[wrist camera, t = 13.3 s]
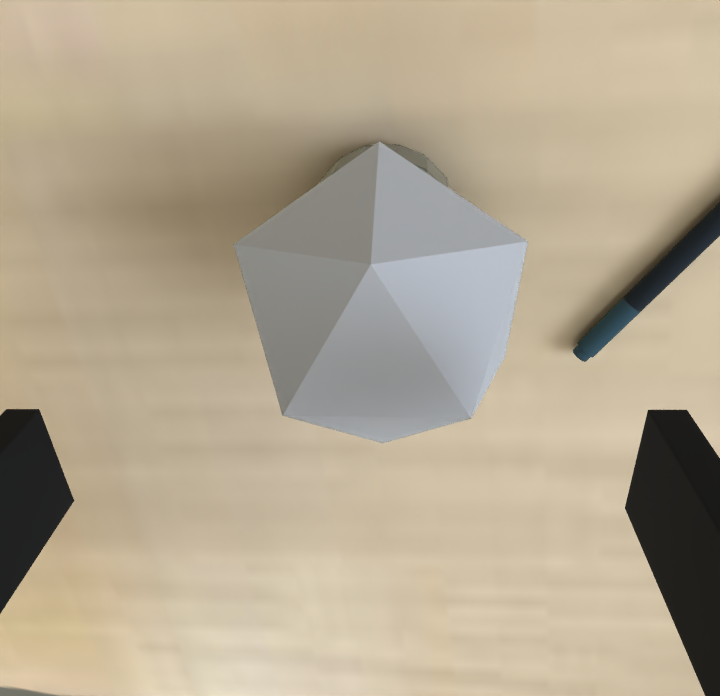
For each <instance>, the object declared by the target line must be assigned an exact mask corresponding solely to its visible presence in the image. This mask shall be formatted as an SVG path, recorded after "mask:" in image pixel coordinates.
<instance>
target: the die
mask: <svg viewBox="0 0 720 696" xmlns="http://www.w3.org/2000/svg"><path fill="white" fill-rule="evenodd" d="M527 243H528V241H526V240H525V239H524V238H522V237H521V236H519V235H518V234H516V233H515V232H513V231H512V230H510V229H509V228H507V227H506V226H504V225H503V224H501V223H500V222H498V221H497V220H495V219H494V218H492V217H491V216H489V215H488V214H486V213H485V212H483V211H482V210H480V209H479V208H477V207H476V206H474V205H473V204H471V203H470V202H469V201H467V200H466V199H464V198H463V197H461V196H460V195H458V194H457V193H455V192H454V191H452V190H451V189H449V188H448V187H446V186H445V185H443V184H442V183H440V182H439V181H437V180H436V179H434V178H433V177H431V176H430V175H428V174H427V173H425V172H424V171H422V170H421V169H419V168H418V167H416V166H415V165H414V164H412V163H411V162H409V161H408V160H406V159H405V158H403V157H402V156H400V155H399V154H397V153H396V152H394V151H393V150H391V149H390V148H388V147H387V146H385V145H384V144H382V143H381V142H377V143H376V144H374V145H373V146H372V147H370V148H369V149H367V150H366V151H365V152H363V153H362V154H360V155H359V156H358V157H356V158H355V159H353V160H352V161H350V162H349V163H348V164H346V165H345V166H343V167H342V168H341V169H339V170H338V171H336V172H335V173H333V174H332V175H331V176H329V177H328V178H326V179H325V180H324V181H322V182H321V183H319V184H318V185H317V186H315V187H314V188H312V189H311V190H309V191H308V192H307V193H305V194H304V195H302V196H301V197H300V198H298V199H297V200H295V201H294V202H293V203H291V204H290V205H288V206H287V207H285V208H284V209H283V210H281V211H280V212H278V213H277V214H276V215H274V216H273V217H271V218H270V219H269V220H267V221H266V222H264V223H263V224H261V225H260V226H259V227H257V228H256V229H254V230H253V231H252V232H250V233H249V234H247V235H246V236H245V237H243V238H242V239H240V240H239V241H237V242H236V243H235V244H234V247H235V251H236V254H237V258H238V261H239V265H240V268H241V272H242V275H243V279H244V282H245V286H246V289H247V293H248V296H249V300H250V303H251V307H252V310H253V314H254V317H255V321H256V324H257V328H258V331H259V335H260V338H261V342H262V345H263V349H264V352H265V356H266V359H267V363H268V366H269V370H270V373H271V377H272V380H273V384H274V387H275V391H276V394H277V398H278V401H279V405H280V408H281V412H282V415H283V416H286V417H290V418H293V419H297V420H300V421H304V422H308V423H311V424H315V425H319V426H322V427H326V428H329V429H333V430H337V431H340V432H344V433H348V434H351V435H355V436H358V437H362V438H366V439H369V440H373V441H376V442H380V443H385V442H389V441H392V440H396V439H399V438H403V437H406V436H410V435H414V434H417V433H421V432H424V431H428V430H431V429H435V428H439V427H442V426H446V425H449V424H453V423H456V422H460V421H463V420H467V419H471V418H472V416H473V414H474V412H475V410H476V408H477V407H478V405H479V403H480V401H481V399H482V397H483V396H484V394H485V392H486V390H487V388H488V386H489V385H490V383H491V381H492V379H493V377H494V375H495V374H496V372H497V370H498V368H499V366H500V364H501V363H502V361H503V359H504V357H505V354H506V349H507V344H508V339H509V334H510V329H511V323H512V318H513V313H514V308H515V303H516V298H517V293H518V288H519V283H520V278H521V273H522V268H523V263H524V258H525V253H526V248H527Z"/></svg>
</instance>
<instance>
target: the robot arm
mask: <svg viewBox="0 0 720 696" xmlns="http://www.w3.org/2000/svg"><path fill="white" fill-rule="evenodd" d="M73 502H74V499H73V497H72V494H71V491H70V489H69V486H68V484H67V481H66V478H65V476H64V473H63V470H62V468H61V465H60V463H59V460H58V457H57V455H56V452H55V449H54V447H53V444H52V442H51V439H50V436H49V434H48V431H47V428H46V426H45V423H44V421H43V418H42V415H41V413H40V410H39V409H6V410H5V411H4V413H3V414H2V415H1V416H0V613H1V612H2V610H3V609H4V607H5V606H6V604H7V602H8V601H9V599H10V598H11V596H12V595H13V593H14V592H15V590H16V589H17V587H18V586H19V584H20V583H21V581H22V580H23V578H24V576H25V575H26V573H27V572H28V570H29V569H30V567H31V566H32V564H33V563H34V561H35V560H36V558H37V557H38V555H39V554H40V552H41V550H42V549H43V547H44V546H45V544H46V543H47V541H48V540H49V538H50V537H51V535H52V534H53V532H54V531H55V529H56V528H57V526H58V524H59V523H60V521H61V520H62V518H63V517H64V515H65V514H66V512H67V511H68V509H69V508H70V506H71V505H72V503H73ZM625 509H626V511H627V514H628V516H629V519H630V521H631V523H632V526H633V528H634V530H635V533H636V535H637V537H638V540H639V542H640V544H641V547H642V549H643V551H644V554H645V556H646V558H647V561H648V563H649V565H650V568H651V570H652V572H653V575H654V577H655V579H656V582H657V584H658V586H659V589H660V591H661V593H662V596H663V598H664V600H665V603H666V605H667V607H668V610H669V612H670V614H671V617H672V619H673V621H674V624H675V626H676V628H677V631H678V633H679V635H680V638H681V640H682V642H683V645H684V647H685V649H686V652H687V654H688V656H689V659H690V661H691V663H692V666H693V668H694V670H695V673H696V675H697V677H698V680H699V682H700V684H701V687H702V689H703V691H704V694H705V696H720V458H719V457H718V455H717V454H716V452H715V451H714V449H713V448H712V446H711V445H710V443H709V442H708V440H707V439H706V438H705V436H704V435H703V433H702V432H701V430H700V429H699V427H698V426H697V424H696V423H695V421H694V420H693V418H692V417H691V415H690V414H689V412H688V411H687V410H648V413H647V417H646V421H645V425H644V430H643V434H642V438H641V442H640V447H639V451H638V455H637V459H636V464H635V468H634V472H633V476H632V480H631V485H630V489H629V493H628V497H627V502H626V506H625Z"/></svg>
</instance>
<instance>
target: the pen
mask: <svg viewBox="0 0 720 696" xmlns="http://www.w3.org/2000/svg"><path fill="white" fill-rule="evenodd" d="M719 236H720V202H719V203H718V204H717V205H716V206H715V207H714V208H713V209H712V210H711V211H710V212H709V213H708V214H707V215H706V216H705V217H704V218H703V219H702V220H701V221H700V222H699V223H698V224H697V225H696V226H695V227H694V228H693V229H692V230H691V231H690V232H689V233H688V234H687V235H686V236H685V237H684V238H683V239H682V240H681V241H680V242H679V243H678V244H677V245H676V246H675V247H674V248H673V249H672V250H671V251H670V252H669V253H668V254H667V255H666V256H665V257H664V258H663V259H662V260H661V261H660V262H659V263H658V264H657V265H656V266H655V267H654V268H653V269H652V270H651V271H650V272H649V273H648V274H647V275H646V276H645V277H643V278H642V279H641V280H640V281H639V282H638V283H637V284H636V285H635V286H634V287H633V288H632V289H631V290H630V291H629V292H628V293H627V294H626V295H625V296H624V297H623V298H622V299H621V300H620V301H619V302H618V303H617V304H616V305H615V306H614V307H613V308H612V309H611V310H610V311H609V312H608V313H607V314H606V315H605V316H604V317H603V318H602V319H601V320H600V321H599V322H598V323H597V324H596V325H595V326H594V327H593V328H592V329H591V330H590V331H589V332H588V333H587V334H586V335H585V336H584V337H583V338H582V339H581V340H580V341H579V342H578V343H577V344H578V346H576V347H575V348H574V349H573V353H574V354H575V355H576V356H577V357H578V358H579V359H580V360H582V361H584V362H585V361H587V360H588V359H589V358H590V357H594V356H595V355H596V354H597V353H598V352H599V351H600V350H601V349H602V348H603V347H604V346H605V345H606V344H607V343H608V342H609V341H610V340H612V339H613V338H614V337H615V336H616V335H617V334H618V333H619V332H620V331H621V330H622V329H623V328H624V327H625V326H626V325H627V324H628V323H629V322H630V321H631V320H632V319H633V318H634V317H636V316H637V315H638V314H639V313H640V312H641V311H642V310H643V309H644V308H645V307H646V306H647V305H648V304H649V303H650V302H651V301H652V300H653V299H654V298H655V297H656V296H657V295H658V294H659V293H661V292H662V291H663V290H664V289H665V288H666V287H667V286H668V285H669V284H670V283H671V282H672V281H673V280H674V279H675V278H676V277H677V276H678V275H679V274H680V273H681V272H682V271H683V270H685V269H686V268H687V267H688V266H689V265H690V264H691V263H692V262H693V261H694V260H695V259H696V258H697V257H698V256H699V255H700V254H701V253H702V252H703V251H704V250H705V249H706V248H707V247H708V246H710V245H711V244H712V243H713V242H714V241H715V240H716V239H717V238H718V237H719Z"/></svg>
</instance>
